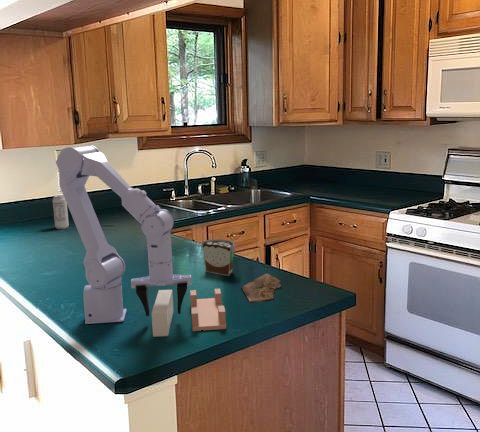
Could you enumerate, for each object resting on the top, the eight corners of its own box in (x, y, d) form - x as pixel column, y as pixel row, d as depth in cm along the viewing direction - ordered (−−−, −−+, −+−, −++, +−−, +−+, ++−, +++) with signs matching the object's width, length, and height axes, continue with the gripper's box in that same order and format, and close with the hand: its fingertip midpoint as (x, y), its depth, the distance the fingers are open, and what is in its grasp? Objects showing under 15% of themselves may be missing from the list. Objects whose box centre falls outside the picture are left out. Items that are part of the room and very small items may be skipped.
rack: (192, 331, 126) (191, 315, 125) (190, 303, 145) (190, 289, 144) (226, 328, 127) (225, 313, 126) (220, 301, 145) (219, 287, 145)
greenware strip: (153, 337, 124) (151, 313, 123) (160, 311, 139) (158, 290, 138) (168, 336, 124) (166, 312, 123) (173, 311, 140) (172, 289, 138)
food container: (243, 271, 172) (243, 241, 170) (232, 276, 167) (232, 245, 165) (213, 266, 178) (212, 237, 177) (202, 270, 174) (200, 241, 172)
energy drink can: (71, 226, 248) (68, 194, 245) (65, 229, 242) (62, 196, 239) (59, 226, 249) (56, 194, 246) (52, 229, 243) (49, 196, 240)
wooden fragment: (270, 305, 142) (270, 301, 142) (231, 302, 145) (231, 298, 145) (287, 276, 167) (287, 273, 167) (254, 274, 170) (253, 271, 169)
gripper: (128, 267, 124) (132, 321, 126) (190, 263, 125) (193, 317, 128) (131, 258, 131) (134, 310, 133) (189, 255, 132) (192, 306, 135)
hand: (163, 313), depth 131 cm, fingers open, 7 cm apart
